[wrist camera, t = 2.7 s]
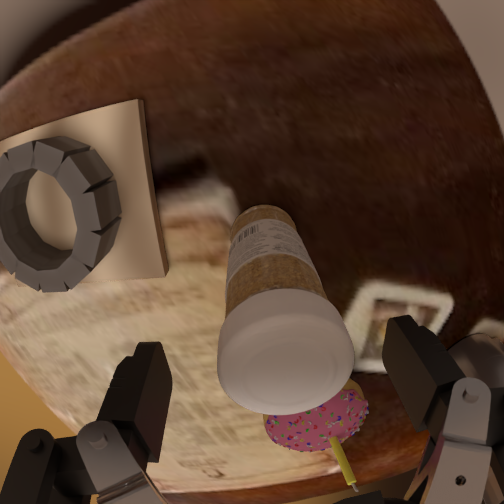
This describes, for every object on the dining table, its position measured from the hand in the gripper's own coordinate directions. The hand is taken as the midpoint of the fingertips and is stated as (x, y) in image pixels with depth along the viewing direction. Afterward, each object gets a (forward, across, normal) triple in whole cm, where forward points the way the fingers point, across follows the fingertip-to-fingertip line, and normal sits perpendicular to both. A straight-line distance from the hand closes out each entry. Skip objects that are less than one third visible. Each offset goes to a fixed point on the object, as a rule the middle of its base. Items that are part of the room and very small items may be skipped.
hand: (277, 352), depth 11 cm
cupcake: (+12, -3, +14) cm, 19 cm away
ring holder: (+12, +14, -4) cm, 19 cm away
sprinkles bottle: (+12, 0, 0) cm, 12 cm away
